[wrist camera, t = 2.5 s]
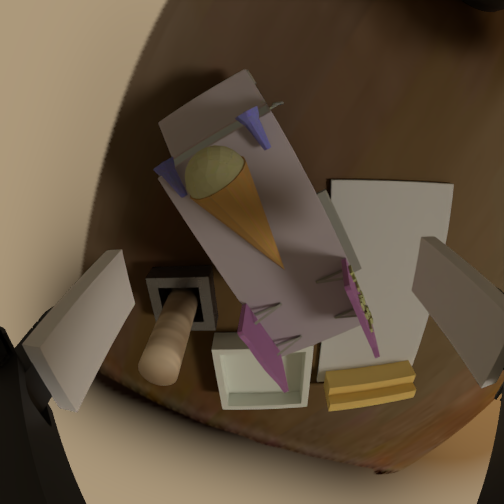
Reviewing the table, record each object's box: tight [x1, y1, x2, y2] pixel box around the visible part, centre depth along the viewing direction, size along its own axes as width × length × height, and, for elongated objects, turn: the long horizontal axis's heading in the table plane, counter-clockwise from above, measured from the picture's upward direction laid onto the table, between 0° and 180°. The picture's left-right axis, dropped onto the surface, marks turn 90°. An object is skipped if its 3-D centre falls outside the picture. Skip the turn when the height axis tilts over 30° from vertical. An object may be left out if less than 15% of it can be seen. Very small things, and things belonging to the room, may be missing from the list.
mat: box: [317, 180, 454, 382], centre depth 32 cm, size 26×14×1 cm, turn 3°
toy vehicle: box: [153, 69, 380, 393], centre depth 21 cm, size 9×20×15 cm, turn 30°
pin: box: [138, 287, 200, 386], centre depth 27 cm, size 3×3×12 cm
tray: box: [211, 332, 314, 409], centre depth 35 cm, size 11×11×3 cm
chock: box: [324, 360, 416, 411], centre depth 35 cm, size 3×12×4 cm, turn 93°
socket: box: [146, 265, 218, 330], centre depth 31 cm, size 6×6×2 cm
